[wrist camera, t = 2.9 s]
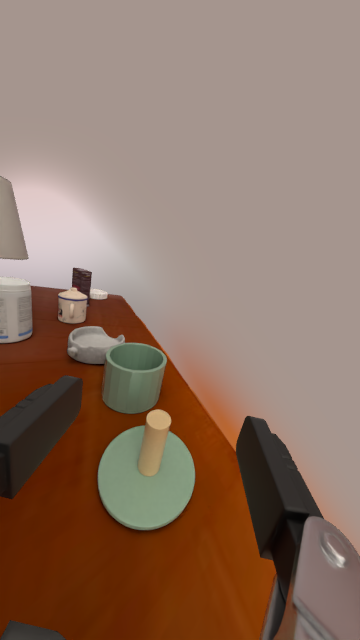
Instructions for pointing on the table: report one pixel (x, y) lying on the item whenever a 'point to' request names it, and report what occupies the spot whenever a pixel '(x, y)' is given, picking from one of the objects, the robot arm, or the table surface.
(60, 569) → the table surface
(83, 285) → the supplement box
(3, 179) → the lamp
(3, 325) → the supplement tub
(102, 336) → the dish
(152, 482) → the lid
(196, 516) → the table surface
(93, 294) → the mooncake
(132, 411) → the canister
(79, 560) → the table surface
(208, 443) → the table surface
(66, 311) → the teacup with lid
